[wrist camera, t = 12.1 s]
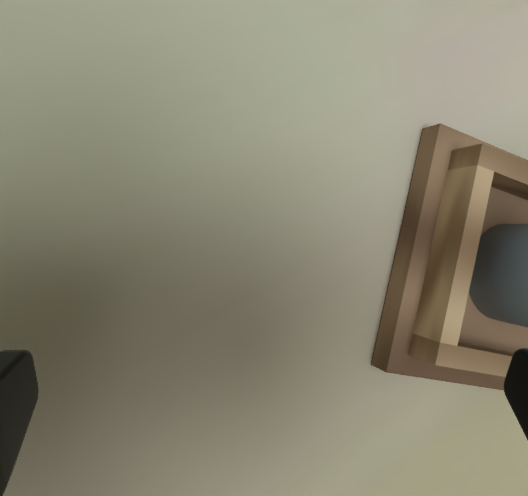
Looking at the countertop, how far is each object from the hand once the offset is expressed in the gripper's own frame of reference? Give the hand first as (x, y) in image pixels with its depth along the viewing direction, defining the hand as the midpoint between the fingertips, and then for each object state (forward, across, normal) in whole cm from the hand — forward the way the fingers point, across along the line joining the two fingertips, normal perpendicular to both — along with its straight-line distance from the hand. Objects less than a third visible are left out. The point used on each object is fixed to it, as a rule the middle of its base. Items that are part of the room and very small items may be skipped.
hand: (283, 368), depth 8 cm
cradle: (+14, -13, +4) cm, 19 cm away
